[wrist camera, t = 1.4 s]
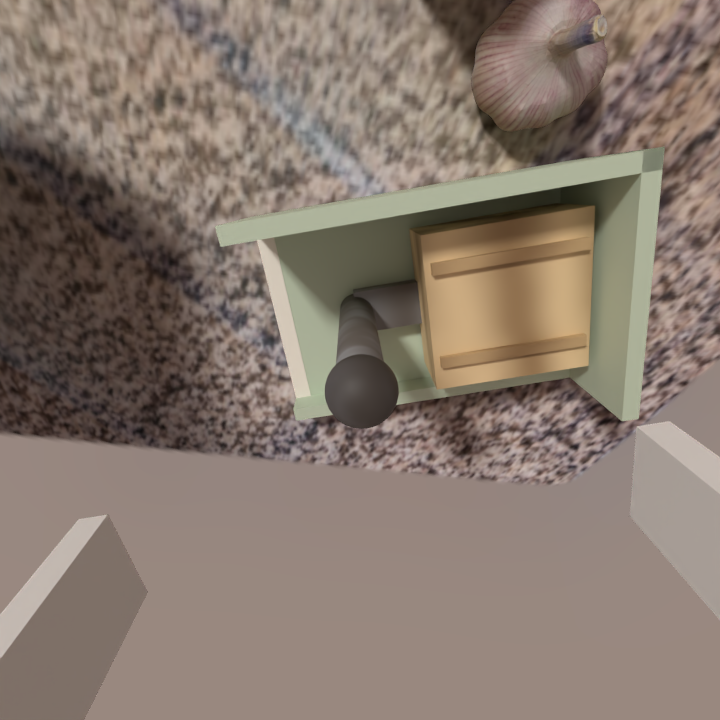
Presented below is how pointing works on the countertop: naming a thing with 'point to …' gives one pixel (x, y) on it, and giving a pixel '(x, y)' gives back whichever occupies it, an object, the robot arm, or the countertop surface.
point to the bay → (394, 263)
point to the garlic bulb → (539, 61)
